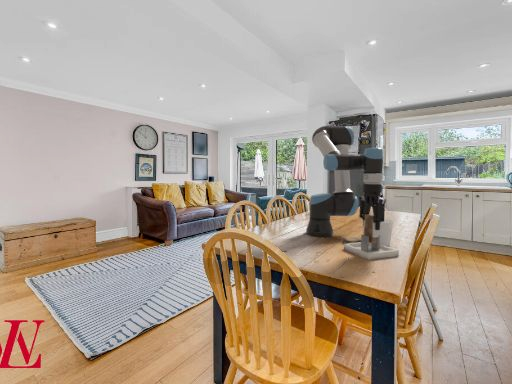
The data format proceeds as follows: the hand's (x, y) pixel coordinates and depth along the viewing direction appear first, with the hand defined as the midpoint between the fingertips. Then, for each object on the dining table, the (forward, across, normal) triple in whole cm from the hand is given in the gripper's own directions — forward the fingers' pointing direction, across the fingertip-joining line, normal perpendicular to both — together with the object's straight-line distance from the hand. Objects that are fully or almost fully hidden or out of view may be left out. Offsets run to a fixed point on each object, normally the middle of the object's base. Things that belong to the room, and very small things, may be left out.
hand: (370, 235), depth 117 cm
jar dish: (+8, 0, 0) cm, 8 cm away
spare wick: (+8, -15, +5) cm, 18 cm away
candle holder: (+8, -10, +16) cm, 21 cm away
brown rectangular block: (+3, 0, 0) cm, 3 cm away
